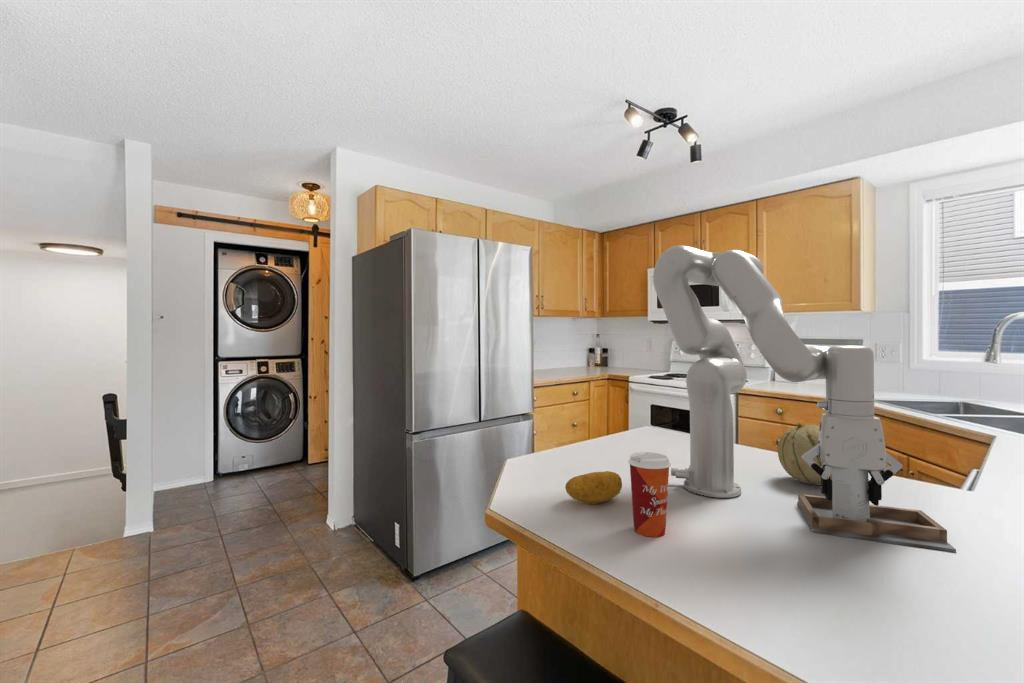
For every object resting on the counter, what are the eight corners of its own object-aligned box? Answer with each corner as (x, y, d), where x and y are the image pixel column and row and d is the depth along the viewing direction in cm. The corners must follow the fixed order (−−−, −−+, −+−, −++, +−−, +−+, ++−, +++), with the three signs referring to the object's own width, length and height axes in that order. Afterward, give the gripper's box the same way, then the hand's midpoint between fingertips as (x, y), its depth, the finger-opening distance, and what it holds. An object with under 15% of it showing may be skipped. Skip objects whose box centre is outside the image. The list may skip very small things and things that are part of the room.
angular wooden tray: (813, 532, 82) (813, 518, 82) (797, 503, 97) (797, 492, 97) (956, 552, 74) (955, 537, 74) (914, 517, 89) (914, 505, 89)
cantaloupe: (865, 491, 105) (864, 427, 105) (810, 494, 102) (809, 429, 102) (813, 473, 119) (812, 417, 119) (764, 476, 117) (763, 419, 117)
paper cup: (649, 543, 78) (648, 463, 78) (619, 527, 85) (619, 454, 85) (681, 534, 82) (680, 458, 82) (650, 519, 88) (649, 449, 88)
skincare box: (858, 526, 83) (857, 461, 83) (830, 518, 86) (830, 456, 87) (871, 519, 86) (870, 456, 86) (844, 512, 90) (843, 452, 90)
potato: (631, 504, 97) (631, 473, 97) (575, 512, 92) (575, 479, 92) (611, 492, 104) (611, 464, 104) (559, 500, 100) (558, 469, 100)
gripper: (800, 409, 87) (801, 500, 86) (914, 414, 80) (915, 514, 79) (794, 404, 93) (794, 489, 93) (898, 408, 86) (899, 500, 86)
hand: (850, 499), depth 86 cm, fingers closed on skincare box, 6 cm apart
